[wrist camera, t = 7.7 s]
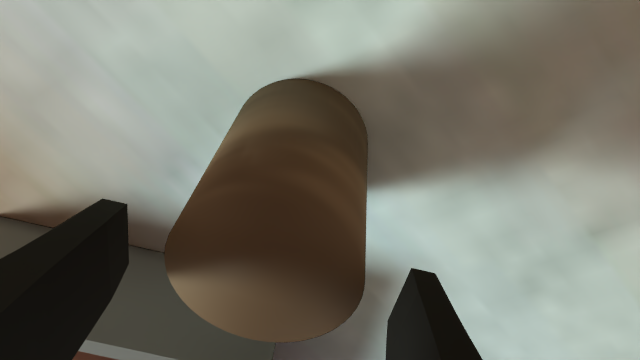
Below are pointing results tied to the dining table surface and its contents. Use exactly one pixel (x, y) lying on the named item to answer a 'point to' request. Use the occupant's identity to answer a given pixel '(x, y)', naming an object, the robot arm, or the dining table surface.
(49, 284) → the robot arm
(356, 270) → the cylinder
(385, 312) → the dining table surface
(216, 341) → the tote
